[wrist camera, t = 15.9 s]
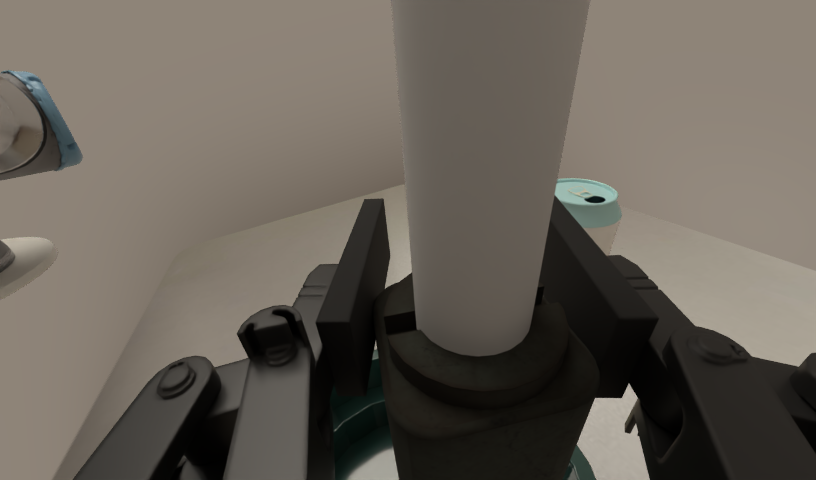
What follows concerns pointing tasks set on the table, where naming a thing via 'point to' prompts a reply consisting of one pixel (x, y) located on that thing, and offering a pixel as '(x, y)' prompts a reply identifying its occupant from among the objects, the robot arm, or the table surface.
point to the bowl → (386, 437)
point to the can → (592, 208)
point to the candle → (482, 244)
